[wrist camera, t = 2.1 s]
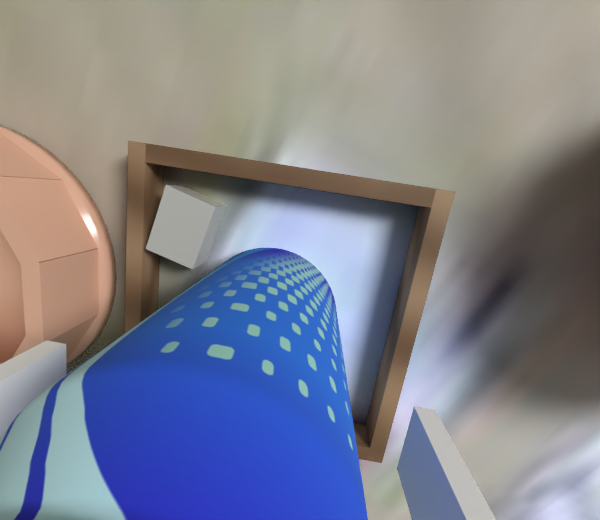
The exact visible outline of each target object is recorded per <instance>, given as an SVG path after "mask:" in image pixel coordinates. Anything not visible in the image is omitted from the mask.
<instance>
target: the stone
mask: <svg viewBox="0 0 600 520" xmlns="http://www.w3.org/2000/svg"><path fill="white" fill-rule="evenodd" d="M226 208H227V205H225V204H223V203H220V202H218V201H216V200H214V199H211V198H209V197H207V196H205V195H202V194H200V193H198V192H196V191H193V190H191V189H189V188H187V187H184V186H174V185H166V186H165V189H164V193H163V196H162V199H161V202H160V205H159V208H158V212H157V215H156V218H155V221H154V224H153V227H152V231H151V234H150V237H149V240H148V243H147V246H146V249H147V250H149V251H151V252H154V253H156V254H158V255H161V256H163V257H165V258H168V259H170V260H172V261H174V262H177V263H179V264H181V265H184V266H186V267H188V268H190V269H194V268H196V267H198V266H200V265H201V264H203V263H205V262H206V261H207V259H208V257H209V254H210V251H211V249H212V246H213V243H214V240H215V238H216V235H217V232H218V230H219V227H220V224H221V222H222V219H223V216H224V213H225V211H226Z"/></svg>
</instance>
